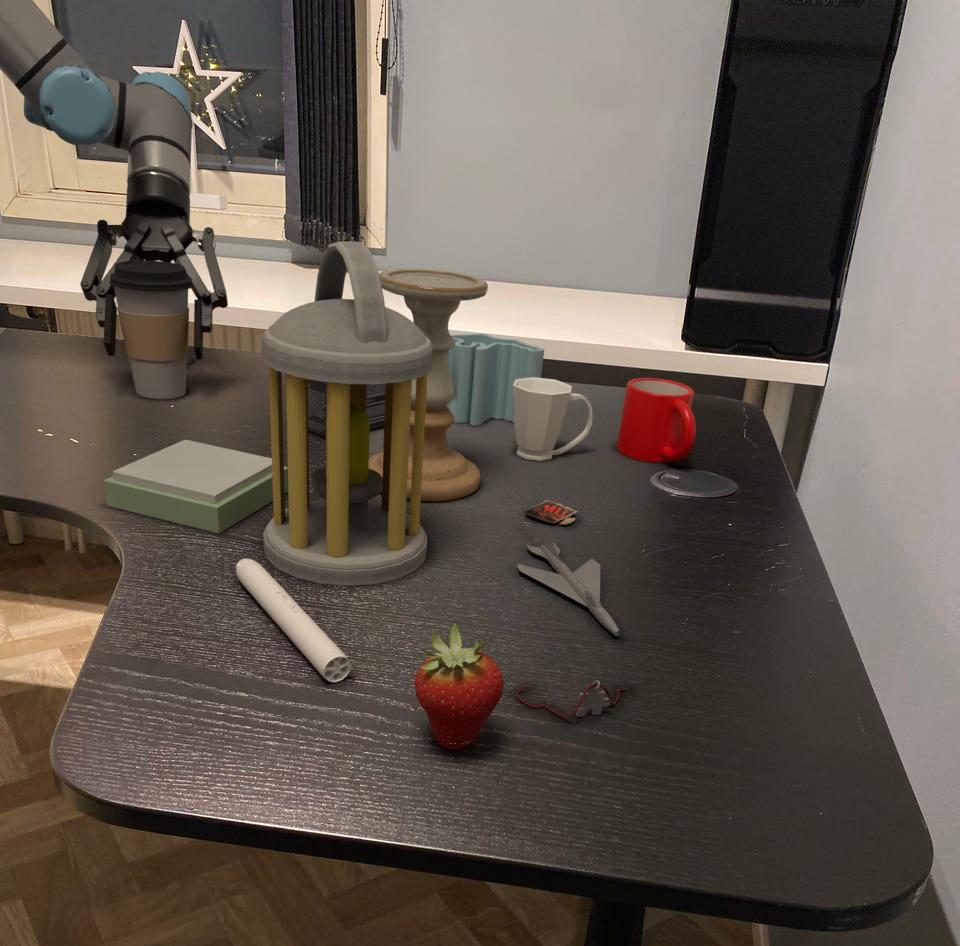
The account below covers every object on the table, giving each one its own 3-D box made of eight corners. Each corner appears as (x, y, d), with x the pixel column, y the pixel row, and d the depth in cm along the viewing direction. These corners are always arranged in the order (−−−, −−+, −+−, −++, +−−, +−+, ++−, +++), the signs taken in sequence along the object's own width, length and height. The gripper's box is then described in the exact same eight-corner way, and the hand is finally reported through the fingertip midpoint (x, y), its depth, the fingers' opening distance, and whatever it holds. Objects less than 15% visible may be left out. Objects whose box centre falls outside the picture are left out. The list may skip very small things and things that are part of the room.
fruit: (413, 717, 59) (419, 609, 55) (495, 722, 59) (507, 615, 55) (409, 766, 55) (415, 653, 51) (498, 771, 55) (511, 659, 51)
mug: (658, 476, 103) (672, 408, 99) (604, 442, 113) (614, 378, 109) (714, 472, 106) (730, 405, 102) (657, 439, 116) (669, 376, 112)
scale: (102, 505, 84) (98, 471, 82) (183, 466, 94) (180, 435, 92) (219, 534, 80) (216, 499, 79) (289, 491, 90) (288, 459, 89)
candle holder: (394, 452, 103) (402, 261, 93) (496, 474, 99) (515, 279, 89) (341, 486, 93) (343, 276, 82) (453, 512, 89) (469, 296, 79)
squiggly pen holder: (503, 403, 124) (509, 332, 119) (538, 425, 116) (547, 350, 112) (378, 409, 116) (380, 334, 112) (407, 434, 109) (411, 354, 104)
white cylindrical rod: (228, 575, 74) (226, 549, 73) (253, 571, 75) (251, 545, 74) (323, 686, 61) (323, 656, 60) (351, 678, 62) (351, 649, 61)
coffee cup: (125, 381, 117) (111, 257, 110) (202, 383, 120) (193, 261, 112) (118, 403, 110) (102, 271, 102) (200, 404, 112) (190, 275, 104)
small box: (361, 411, 115) (362, 325, 110) (396, 425, 112) (400, 337, 106) (294, 425, 108) (292, 334, 103) (330, 440, 104) (330, 347, 99)
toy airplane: (572, 645, 69) (576, 619, 68) (485, 532, 86) (487, 509, 85) (662, 636, 71) (667, 611, 70) (560, 528, 88) (563, 505, 87)
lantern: (453, 573, 78) (477, 259, 65) (290, 596, 72) (282, 256, 59) (391, 509, 88) (402, 230, 76) (245, 525, 82) (230, 224, 70)
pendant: (535, 728, 59) (539, 694, 58) (513, 691, 63) (517, 658, 61) (645, 716, 61) (653, 683, 60) (618, 680, 65) (625, 648, 64)
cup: (497, 444, 108) (504, 376, 104) (576, 444, 111) (585, 377, 107) (514, 464, 103) (522, 393, 99) (596, 464, 105) (607, 394, 101)
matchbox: (521, 516, 89) (522, 512, 89) (541, 501, 93) (541, 496, 93) (566, 528, 88) (566, 524, 88) (583, 512, 92) (584, 507, 92)
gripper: (251, 219, 120) (251, 372, 115) (72, 206, 116) (63, 364, 111) (247, 177, 113) (247, 338, 108) (57, 162, 109) (46, 329, 103)
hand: (154, 351), depth 109 cm, fingers closed on coffee cup, 9 cm apart
